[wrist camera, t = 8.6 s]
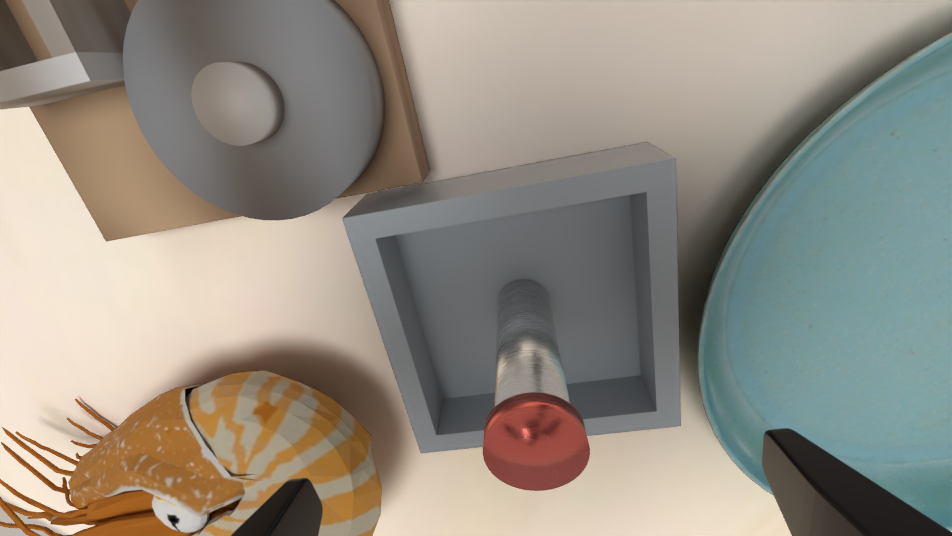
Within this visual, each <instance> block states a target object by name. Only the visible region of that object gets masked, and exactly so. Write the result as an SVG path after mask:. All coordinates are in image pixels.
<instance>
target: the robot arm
mask: <svg viewBox="0 0 952 536" xmlns="http://www.w3.org/2000/svg"><path fill="white" fill-rule="evenodd" d="M762 468H763V471H764V474H765V477H766V479H767V481H768V484H769V486H770V488H771V490H772V492H773V495H774V497H775V499H776V501H777V503H778V506H779V508H780V510H781V512H782V515H783V517H784V519H785V521H786V523H787V526H788V528H789V530H790V532H791V534H792V536H952V532H951V531H949V530H948V529H946V528H945V527H943V526H942V525H940V524H939V523H937V522H935V521H934V520H932V519H931V518H929V517H928V516H926V515H925V514H923V513H921V512H920V511H918V510H917V509H915V508H914V507H912V506H911V505H909V504H907V503H906V502H904V501H903V500H901V499H900V498H898V497H897V496H895V495H894V494H892V493H890V492H889V491H887V490H886V489H884V488H883V487H881V486H880V485H878V484H876V483H875V482H873V481H872V480H870V479H869V478H867V477H866V476H864V475H863V474H861V473H859V472H858V471H856V470H855V469H853V468H852V467H850V466H849V465H847V464H845V463H844V462H842V461H841V460H839V459H838V458H836V457H835V456H833V455H832V454H830V453H828V452H827V451H825V450H824V449H822V448H821V447H819V446H818V445H816V444H814V443H813V442H811V441H810V440H808V439H807V438H805V437H804V436H802V435H800V434H799V433H797V432H796V431H794V430H792V429H789V428H782V429H772V430H767V431H766V432H765V433H764V436H763V449H762ZM322 515H323V506H322V502H321V500H320V498H319V496H318V494H317V492H316V490H315V488H314V486H313V484H312V482H311V481H310V480H309V479H308V478H296V479H290V480H288V481H286V482H285V483H284V484H283V485H282V486H281V487H280V488H279V489H278V490H277V491H276V492H275V493H274V494H273V495H272V496H271V497H270V498H269V499H267V500H266V501H265V502H264V503H263V504H262V505H261V506H260V507H259V508H258V509H257V510H256V511H255V512H254V513H253V514H252V515H251V516H250V517H249V518H248V519H247V520H246V521H245V522H244V523H243V524H242V525H241V526H240V527H239V528H238V529H236V530H235V531H234V532H233V533H232V534H231V535H230V536H318V535H319V530H320V525H321V521H322Z"/></svg>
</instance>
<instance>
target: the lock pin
mask: <svg viewBox="0 0 952 536" xmlns="http://www.w3.org/2000/svg"><path fill="white" fill-rule="evenodd" d="M589 455H590V448H589V443H588V439H587V434H586V430H585V425H584V421H583V419H582V416H581V415H580V413H579V412H578V411H577V409H576V408H575V407H574V406H573V405H571V404H570V401H569V396H568V391H567V386H566V381H565V375H564V370H563V365H562V360H561V355H560V349H559V344H558V339H557V334H556V329H555V323H554V318H553V313H552V308H551V303H550V298H549V294H548V292H547V290H546V289H545V287H544V286H543V285H541V284H540V283H538V282H537V281H534V280H531V279H517V280H514V281H511V282H509V283H508V284H506V285H505V286H504V287H503V288H502V290H501V291H500V293H499V295H498V300H497V337H496V376H495V407H494V408H493V409H492V411H491V412H490V413H489V415H488V417H487V419H486V422H485V426H484V440H483V456H484V460H485V463H486V465H487V467H488V469H489V470H490V471H491V473H492V474H493V475H494V476H495V477H497V478H498V479H499V480H501V481H502V482H504V483H506V484H508V485H510V486H513V487H516V488H519V489H524V490H534V491H539V490H549V489H554V488H557V487H560V486H563V485H565V484H567V483H569V482H571V481H572V480H574V479H575V478H576V477H578V476H579V475H580V473H581V472H582V471H583V470H584V468H585V467H586V465H587V463H588V460H589Z"/></svg>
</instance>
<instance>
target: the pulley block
mask: <svg viewBox="0 0 952 536" xmlns="http://www.w3.org/2000/svg"><path fill="white" fill-rule="evenodd" d="M28 106H29V107H30V109H31V111H32V112H33V114H34V116H35V118H36V119H37V121H38V123H39V125H40V126H41V128H42V130H43V132H44V133H45V135H46V137H47V139H48V140H49V142H50V144H51V146H52V147H53V149H54V151H55V153H56V154H57V156H58V158H59V160H60V161H61V163H62V165H63V167H64V168H65V170H66V172H67V174H68V175H69V177H70V179H71V181H72V182H73V184H74V186H75V188H76V189H77V191H78V193H79V195H80V196H81V198H82V200H83V202H84V203H85V205H86V207H87V209H88V210H89V212H90V214H91V216H92V217H93V219H94V221H95V223H96V225H97V226H98V228H99V230H100V232H101V233H102V235H103V237H104V239H105V240H106V241H111V240H116V239H122V238H127V237H132V236H138V235H143V234H148V233H154V232H159V231H164V230H170V229H175V228H180V227H186V226H191V225H196V224H202V223H207V222H213V221H218V220H223V219H229V218H234V217H239V216H245V217H248V218H254V219H261V220H285V219H293V218H297V217H301V216H305V215H307V214H310V213H312V212H314V211H317V210H319V209H321V208H322V207H324V206H325V205H327V204H329V203H330V202H331V201H333V200H334V199H336V198H341V197H346V196H352V195H357V194H362V193H368V192H373V191H378V190H384V189H389V188H394V187H400V186H405V185H410V184H416V183H421V182H423V180H424V179H425V177H426V176H427V174H428V173H429V171H430V170H429V166H428V161H427V157H426V153H425V149H424V145H423V141H422V137H421V132H420V128H419V124H418V120H417V116H416V112H415V108H414V104H413V99H412V95H411V91H410V87H409V83H408V79H407V75H406V70H405V66H404V62H403V58H402V54H401V50H400V46H399V41H398V37H397V33H396V29H395V25H394V21H393V17H392V12H391V8H390V4H389V0H0V109H8V108H18V107H28Z"/></svg>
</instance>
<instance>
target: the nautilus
mask: <svg viewBox="0 0 952 536" xmlns="http://www.w3.org/2000/svg"><path fill="white" fill-rule="evenodd" d="M75 400H76V402H77V403H78V404H79V405H80V406H81V407H82V408H83V409H85V410H86V411H87V412H88V413H89V414H91V415H92V416H93V417H94V418H95V419H97V420H98V421H100V422H101V423H103V424H104V425H105V426H106V427H108V428H109V429H110V430H111V431H112V432H110V433H109V434H108V435H107V436H106V437H104V438H102V437H100V436H98V435H96V434H94V433H92V432H89V431H88V430H87V429H85V428H84V427H82V426H80V425H78V424H76V423H74V422H73V421H71V420H70V419H69V418H67V420H68V421H69V422H70V423H71V424H73V425H74V426H76V427H78V428H79V429H81V430H83V431H84V432H86V433H87V434H88V435H91V436H93V437H95V438H97V439H99V440H101V441H100V442H99V443H98V444H93V445H87V444H82V443H78V442H75V441H73V440H72V441H71V442H73V443H74V444H75V445H78V446H82V447H86V448H93V449H92V450H90V451H89V452H88V453H86V454H85V455H83V456H79V454H78V453H77V454H76V458H77V459H80V461H79V462H78V461H76V460H74V459H71V458H69V457H67V456H65V455H63V454H61V453H59V452H57V451H55V450H53V449H50V448H48V447H45V446H42V445H40V444H39V443H37V442H36V441H34V440H31V439H29V438H27V437H25V436H23V435H21V434H20V433H19V432H17V431H16V432H15V433H16V434H17V435H19V436H20V437H21V438H23V439H24V440H26V441H28V442H30V443H32V444H34V445H36V446H37V447H39V448H41V449H43V450H46V451H49V452H51V453H53V454H54V455H56V456H58V457H60V458H62V459H64V460H66V461H68V462H70V463H72V464H74V465H76V466H77V467H76V469H75V471H68V470H63V469H59V468H58V467H57V466H55V465H54V464H52V463H51V462H50V461H48V460H47V459H45V458H44V457H43V456H41V455H40V454H38V453H37V452H36V451H34V450H33V449H31V448H30V447H29V446H27V445H26V444H25V443H23V442H22V441H21V440H19V439H18V438H17V437H16V436H14V435H13V434H12V433H10V432H9V431H7V430H6V429H4V428H3V427H2V428H3V430H4V431H5V433H6V434H7V435H8V436H9V437H10V438H12V439H13V440H14V441H15V442H16V443H17V444H19V445H20V446H21V447H22V448H24V449H25V450H27V451H28V452H29V453H31V454H32V455H33V456H35V457H36V458H37V459H39V460H40V461H41V462H43V463H44V464H45V465H47V466H48V467H49V468H51V469H52V470H53V471H55V472H56V473H60V474H64V475H68V476H72V477H71V479H70V480H69V482H68V483H69V486H70V489H68V488H67V481H66V479H65V477H63V485H62V487H63V488H61V487H57V486H56V485H55V484H53V483H52V482H51V481H50V480H48V479H47V478H46V477H44V476H43V475H42V474H41V473H39V472H38V471H37V470H36V469H34V468H33V467H32V466H31V465H29V464H28V463H27V462H26V461H24V460H23V459H22V458H21V457H20V456H18V455H17V454H16V453H15V452H14V451H12V450H11V449H10V448H9V447H7V446H6V445H5V444H3V443H2V442H1V443H2V445H3V447H4V448H5V450H6V451H8V452H9V453H10V454H11V455H12V456H13V457H14V458H15V459H16V460H17V461H18V462H19V463H20V464H22V465H23V466H24V467H26V468H27V469H28V470H29V471H31V472H32V473H33V474H34V475H36V476H37V477H38V478H39V479H40V480H42V481H43V482H44V483H45V484H46V485H48V486H49V487H50V488H51V489H52V490H55V491H58V492H62V493H65V496H66V501H67V503H68V504H69V505H70V506H73V507H75V508H76V509H79V510H73V511H68V512H66V513H62V512H58V511H56V510H53V509H51V508H49V507H47V506H45V505H43V504H41V503H39V502H37V501H34V500H32V499H30V498H28V497H26V496H24V495H22V494H21V493H19V492H18V491H16V490H15V489H13V488H12V487H10V486H9V485H8V484H6V483H5V482H3V481H2V480H1V479H0V483H1V484H2V485H3V486H4V487H6V488H7V489H8V490H9V491H10V492H11V493H13V494H14V495H16V496H17V497H19V498H21V499H22V500H24V501H26V502H27V503H29V504H31V505H33V506H35V507H38V508H40V509H42V510H44V511H46V512H30V511H26V510H24V509H22V508H19V507H17V506H14V505H12V504H9V503H7V502H5V501H3V500H2V498H1V497H0V506H1V508H2V509H3V510H4V511H5V512H6V513H7V514H8V516H9V517H10V518H11V519H12V520H13V521H14V522H15V523H16V524H8V523H4V522H0V526H3V527H8V528H20V529H21V530H22V531H23V532H24V533H25V534H26V535H28V536H40V535H38V534H37V533H35V532H33V531H31V530H30V529H36V530H41V531H44V532H45V533H46V534H48V535H49V536H230V535H231V534H232V533H233V532H234V531H235V530H236V529H238V528H239V527H240V526H241V525H242V524H243V523H244V522H245V521H246V520H247V519H248V518H249V517H250V516H251V515H252V514H253V513H254V512H255V511H256V510H257V509H258V508H259V507H260V506H261V505H262V504H263V503H264V502H265V501H266V500H267V499H269V498H270V497H271V496H272V495H273V494H274V493H275V492H276V491H277V490H278V489H279V488H280V487H281V486H282V485H283V484H284V483H285V482H286V481H288V480H290V479H296V478H308V479H309V480H310V481H311V482H312V484H313V486H314V488H315V490H316V492H317V494H318V496H319V498H320V500H321V502H322V506H323V515H322V521H321V525H320V530H319V535H318V536H372V535H373V533H374V530H375V527H376V525H377V522H378V519H379V517H380V512H381V485H380V481H379V478H378V474H377V470H376V466H375V463H374V459H373V455H372V448H371V438H370V434H369V433H368V432H367V431H366V430H365V429H364V427H363V426H362V425H361V424H360V423H359V422H358V421H357V420H356V419H355V418H354V417H353V416H352V415H351V414H350V413H349V412H348V411H346V410H345V409H344V408H343V407H342V406H341V405H340V404H338V403H337V402H336V401H334V400H333V399H331V398H330V397H329V396H327V395H325V394H323V393H321V392H319V391H317V390H316V389H314V388H311V387H309V386H307V385H305V384H302V383H300V382H298V381H295V380H292V379H289V378H286V377H283V376H280V375H277V374H274V373H271V372H268V371H265V370H264V371H252V372H241V373H234V374H229V375H226V376H224V377H221V378H218V379H216V380H214V381H211V382H209V383H202V384H198V385H193V386H185V387H178V388H175V389H173V390H170V391H168V392H166V393H163V394H161V395H159V396H158V397H156V398H155V399H153V400H152V401H150V402H149V403H148V404H146V405H145V406H143V407H142V408H140V409H139V410H137V411H136V412H134V413H133V414H131V415H130V416H129V417H128V418H127V419H126V420H125V421H124V422H123V423H122V424H121V425H120V426H119V427H117V428H116V429H115V428H113V427H112V426H111V425H110V424H108V423H107V422H106V421H104V420H103V419H101V418H100V417H98V416H97V415H96V414H95V413H94V412H92V411H91V410H90V409H88V408H87V407H86V406H84V405H83V404H82V403H81V402H79V401H78V400H77V399H75ZM69 494H71V501H72V502H73V503H72V502H71V501H70V498H69ZM12 510H13V511H15V512H18V513H20V514H23V515H25V516H32V517H28V518H29V519H33V518H46V519H47V520H49V521H51V524H55V525H64V526H66V525H75V524H87V525H96V526H93V527H90V528H88V529H84V530H82V531H79V532H77V533H75V534H73V535H61V534H58V533H55V532H53V531H52V530H50V529H49V528H47V527H43V526H39V525H32V524H24V523H23V521H22V520H21V519H20V518H19V517H18V516H17V515H16V514H15V513H14V512H13V511H12Z"/></svg>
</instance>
